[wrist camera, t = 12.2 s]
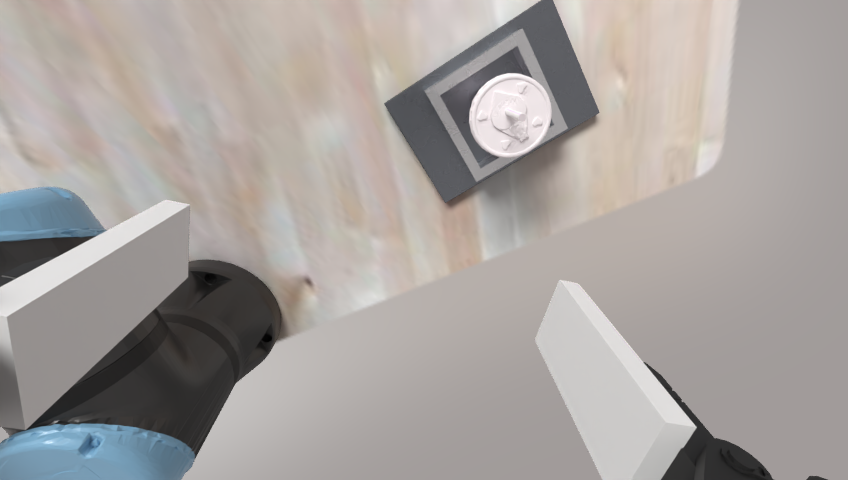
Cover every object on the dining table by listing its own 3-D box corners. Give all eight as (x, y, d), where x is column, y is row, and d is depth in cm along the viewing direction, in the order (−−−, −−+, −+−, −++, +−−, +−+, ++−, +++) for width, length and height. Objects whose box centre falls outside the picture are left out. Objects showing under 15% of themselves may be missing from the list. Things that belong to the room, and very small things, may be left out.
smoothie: (499, 58, 39) (544, 51, 26) (533, 114, 41) (590, 134, 28) (444, 100, 40) (460, 114, 27) (480, 152, 42) (511, 189, 29)
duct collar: (444, 200, 45) (447, 210, 42) (384, 102, 41) (382, 105, 38) (595, 111, 42) (610, 115, 38) (547, -4, 38) (559, -11, 34)
